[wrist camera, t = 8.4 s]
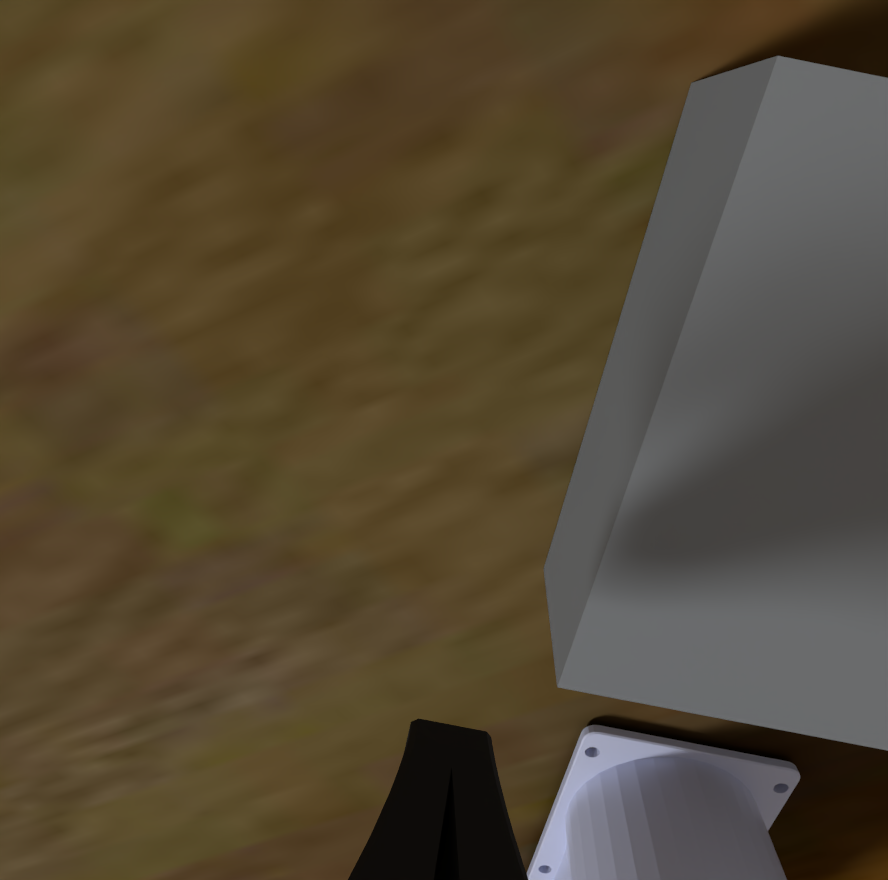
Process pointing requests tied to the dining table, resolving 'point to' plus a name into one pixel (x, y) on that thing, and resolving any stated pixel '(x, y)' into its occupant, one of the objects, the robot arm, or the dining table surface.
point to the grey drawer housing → (745, 424)
